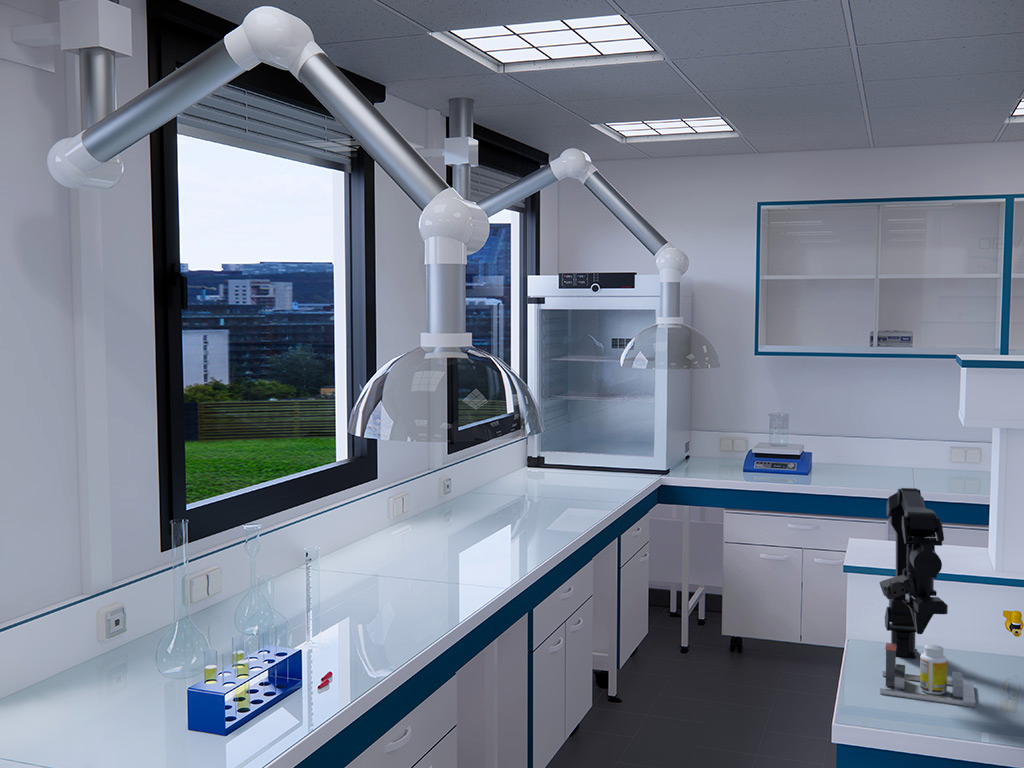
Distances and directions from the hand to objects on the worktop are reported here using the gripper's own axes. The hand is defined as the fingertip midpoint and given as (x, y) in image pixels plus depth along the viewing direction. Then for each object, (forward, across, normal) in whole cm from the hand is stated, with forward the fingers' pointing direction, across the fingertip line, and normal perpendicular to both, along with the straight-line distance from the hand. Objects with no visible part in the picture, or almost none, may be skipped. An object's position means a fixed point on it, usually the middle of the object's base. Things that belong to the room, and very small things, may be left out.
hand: (919, 633), depth 212 cm
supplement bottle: (+13, +1, +3) cm, 13 cm away
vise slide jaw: (+13, -2, -5) cm, 14 cm away
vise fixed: (+13, +1, +2) cm, 13 cm away
